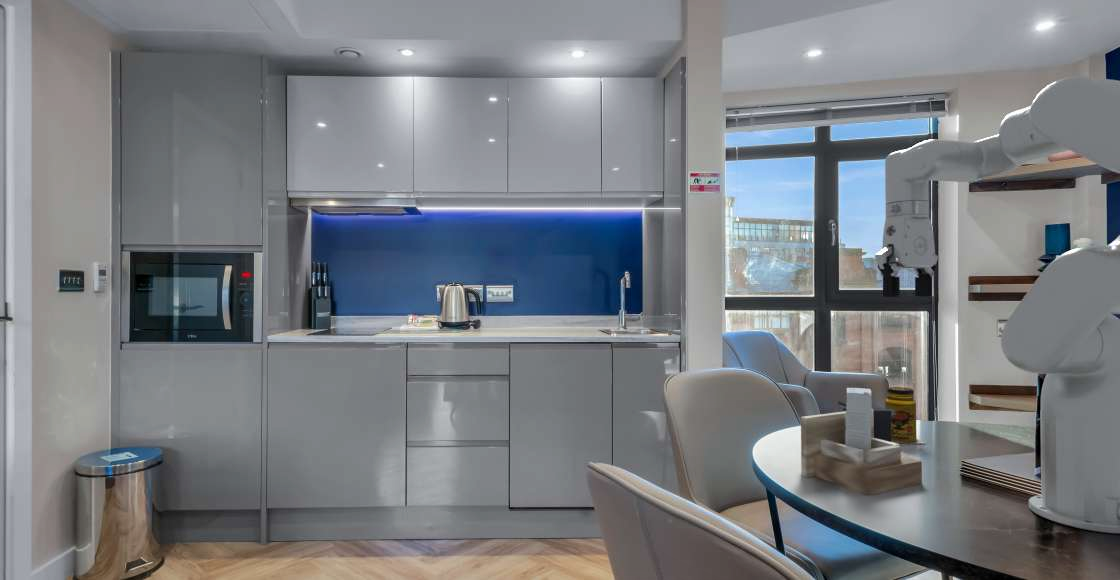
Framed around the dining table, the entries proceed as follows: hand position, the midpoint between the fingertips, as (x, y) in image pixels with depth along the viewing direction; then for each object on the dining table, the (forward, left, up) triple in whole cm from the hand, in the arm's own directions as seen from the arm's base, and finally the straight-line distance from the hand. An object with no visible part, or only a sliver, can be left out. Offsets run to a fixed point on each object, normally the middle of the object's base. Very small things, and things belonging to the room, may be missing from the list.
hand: (907, 296), depth 115 cm
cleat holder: (-3, +18, -33) cm, 38 cm away
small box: (+7, +4, -34) cm, 35 cm away
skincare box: (-3, +18, -30) cm, 35 cm away
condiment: (+12, -14, -34) cm, 38 cm away
